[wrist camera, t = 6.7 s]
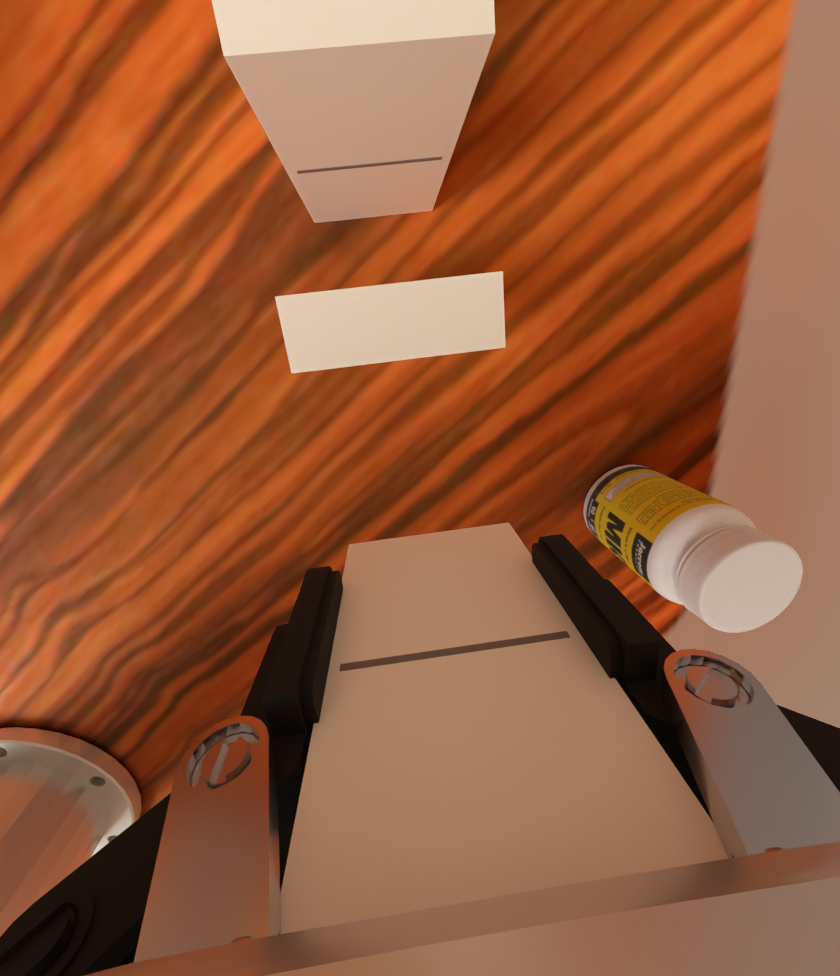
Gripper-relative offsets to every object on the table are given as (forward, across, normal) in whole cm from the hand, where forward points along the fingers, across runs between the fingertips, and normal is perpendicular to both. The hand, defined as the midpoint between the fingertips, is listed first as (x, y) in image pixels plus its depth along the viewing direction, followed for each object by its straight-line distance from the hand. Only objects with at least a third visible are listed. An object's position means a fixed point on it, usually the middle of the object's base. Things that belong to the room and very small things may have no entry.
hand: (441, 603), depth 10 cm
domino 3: (+2, 0, 0) cm, 2 cm away
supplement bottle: (+11, -11, +3) cm, 16 cm away
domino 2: (+11, 0, -7) cm, 13 cm away
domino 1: (+11, 0, -12) cm, 17 cm away
